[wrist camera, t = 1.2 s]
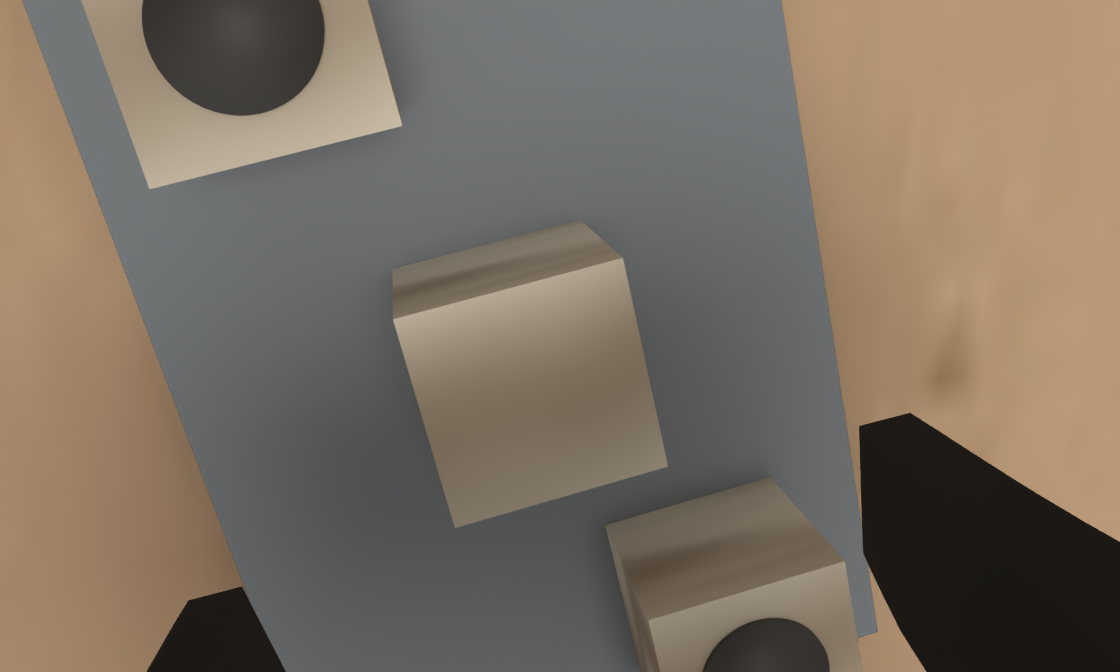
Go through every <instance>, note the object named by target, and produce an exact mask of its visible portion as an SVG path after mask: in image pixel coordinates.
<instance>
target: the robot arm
mask: <svg viewBox="0 0 1120 672" xmlns="http://www.w3.org/2000/svg"><path fill="white" fill-rule="evenodd" d="M859 435H860V469H861V502H862V535H863V554H864V556H865V558H866V560H867V563H868V565H869V567H870V569H871V571H872V573H873V575H874V577H875V580H876V582H877V584H878V586H879V588H880V590H881V592H882V594H883V596H884V598H885V600H886V602H887V604H888V606H889V608H890V610H891V612H892V614H893V616H894V618H895V620H896V622H897V624H898V626H899V628H900V630H901V632H902V634H903V635H904V637H905V638H906V640H907V642H908V643H909V645H910V646H911V648H912V650H913V651H914V653H915V654H916V656H917V657H918V659H919V661H920V662H921V664H922V665H923V667H924V668H925V670H926V672H1120V542H1119V541H1117V540H1115V539H1114V538H1112V537H1110V536H1108V535H1107V534H1105V533H1103V532H1101V531H1099V530H1098V529H1096V528H1094V527H1092V526H1091V525H1089V524H1087V523H1085V522H1084V521H1082V520H1080V519H1079V518H1077V517H1075V516H1074V515H1072V514H1070V513H1069V512H1067V511H1065V510H1064V509H1062V508H1060V507H1059V506H1057V505H1055V504H1053V503H1052V502H1050V501H1048V500H1047V499H1045V498H1043V497H1042V496H1040V495H1038V494H1037V493H1035V492H1034V491H1032V490H1030V489H1029V488H1027V487H1025V486H1024V485H1022V484H1021V483H1019V482H1017V481H1016V480H1014V479H1013V478H1011V477H1009V476H1008V475H1006V474H1005V473H1003V472H1002V471H1000V470H998V469H997V468H995V467H994V466H992V465H991V464H989V463H987V462H986V461H984V460H983V459H981V458H980V457H978V456H977V455H975V454H973V453H972V452H970V451H969V450H967V449H966V448H964V447H963V446H961V445H959V444H958V443H956V442H955V441H953V440H952V439H950V438H949V437H947V436H946V435H944V434H942V433H941V432H939V431H938V430H936V429H935V428H933V427H932V426H930V425H928V424H927V423H925V422H924V421H922V420H921V419H919V418H917V417H916V416H914V415H913V414H911V413H908V414H904V415H900V416H896V417H892V418H889V419H885V420H881V421H877V422H873V423H869V424H865V425H862V426H859ZM147 672H286V671H285V669H284V667H283V665H282V663H281V661H280V659H279V657H278V655H277V653H276V651H275V650H274V648H273V646H272V644H271V642H270V640H269V638H268V636H267V634H266V632H265V630H264V628H263V626H262V624H261V623H260V621H259V619H258V617H257V615H256V613H255V611H254V609H253V607H252V605H251V603H250V601H249V599H248V597H247V595H246V594H245V592H244V590H243V588H242V587H239V588H235V589H231V590H227V591H223V592H219V593H216V594H212V595H208V596H204V597H200V598H196V599H192V600H189V601H188V602H187V604H186V605H185V607H184V608H183V610H182V612H181V613H180V615H179V617H178V618H177V620H176V622H175V623H174V625H173V627H172V628H171V630H170V632H169V634H168V635H167V637H166V639H165V640H164V642H163V644H162V646H161V647H160V649H159V651H158V653H157V654H156V656H155V658H154V660H153V661H152V663H151V665H150V667H149V668H148V670H147Z"/></svg>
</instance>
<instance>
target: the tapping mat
mask: <svg viewBox="0 0 1120 672" xmlns="http://www.w3.org/2000/svg"><path fill="white" fill-rule="evenodd" d="M22 1H23V4H24V7H25V9H26V12H27V15H28V17H29V20H30V23H31V25H32V28H33V31H34V33H35V36H36V38H37V41H38V44H39V46H40V49H41V52H42V54H43V57H44V60H45V62H46V65H47V67H48V70H49V73H50V75H51V78H52V81H53V83H54V86H55V89H56V91H57V94H58V96H59V99H60V102H61V104H62V107H63V110H64V112H65V115H66V118H67V120H68V123H69V125H70V128H71V131H72V133H73V136H74V139H75V141H76V144H77V147H78V149H79V152H80V154H81V157H82V160H83V162H84V165H85V168H86V170H87V173H88V176H89V178H90V181H91V183H92V186H93V189H94V191H95V194H96V197H97V199H98V202H99V205H100V207H101V210H102V212H103V215H104V218H105V220H106V223H107V226H108V228H109V231H110V234H111V236H112V239H113V241H114V244H115V247H116V249H117V252H118V255H119V257H120V260H121V263H122V265H123V268H124V271H125V273H126V276H127V278H128V281H129V284H130V286H131V289H132V292H133V294H134V297H135V300H136V302H137V305H138V307H139V310H140V313H141V315H142V318H143V321H144V323H145V326H146V329H147V331H148V334H149V336H150V339H151V342H152V344H153V347H154V350H155V352H156V355H157V358H158V360H159V363H160V365H161V368H162V371H163V373H164V376H165V379H166V381H167V384H168V387H169V389H170V392H171V394H172V397H173V400H174V402H175V405H176V408H177V410H178V413H179V416H180V418H181V421H182V423H183V426H184V429H185V431H186V434H187V437H188V439H189V442H190V445H191V447H192V450H193V452H194V455H195V458H196V460H197V463H198V466H199V468H200V471H201V474H202V476H203V479H204V481H205V484H206V487H207V489H208V492H209V495H210V497H211V500H212V503H213V505H214V508H215V511H216V513H217V516H218V518H219V521H220V524H221V526H222V529H223V532H224V534H225V537H226V540H227V542H228V545H229V547H230V550H231V553H232V555H233V558H234V561H235V563H236V566H237V569H238V571H239V574H240V576H241V579H242V582H243V584H244V587H245V590H246V592H247V595H248V598H249V600H250V603H251V605H252V607H253V609H254V611H255V613H256V615H257V617H258V619H259V621H260V623H261V624H262V626H263V628H264V630H265V632H266V634H267V636H268V638H269V640H270V642H271V644H272V646H273V648H274V650H275V651H276V653H277V655H278V657H279V659H280V661H281V663H282V665H283V667H284V669H285V671H286V672H641V670H640V666H639V662H638V658H637V654H636V650H635V646H634V642H633V638H632V633H631V629H630V625H629V621H628V617H627V613H626V609H625V605H624V601H623V596H622V592H621V588H620V584H619V580H618V576H617V572H616V568H615V564H614V559H613V555H612V551H611V547H610V543H609V539H608V535H607V531H606V527H605V525H608V524H611V523H615V522H618V521H621V520H625V519H628V518H632V517H635V516H638V515H642V514H645V513H649V512H652V511H656V510H659V509H662V508H666V507H669V506H673V505H676V504H679V503H683V502H686V501H690V500H693V499H697V498H700V497H703V496H707V495H710V494H714V493H717V492H721V491H724V490H727V489H731V488H734V487H738V486H741V485H744V484H748V483H751V482H755V481H758V480H762V479H765V478H768V477H770V478H771V479H772V480H773V481H774V482H775V483H776V484H777V485H778V487H779V488H780V489H781V490H782V491H783V492H784V493H785V494H786V495H787V497H788V498H789V499H790V500H791V501H792V502H793V503H794V504H795V506H796V507H797V508H798V509H799V510H800V511H801V512H802V513H803V515H804V516H805V517H806V518H807V519H808V520H809V521H810V522H811V524H812V525H813V526H814V527H815V528H816V529H817V530H818V531H819V533H820V534H821V535H822V536H823V537H824V538H825V539H826V540H827V542H828V543H829V544H830V545H831V546H832V547H833V548H834V549H835V551H836V552H837V553H838V554H839V555H840V556H841V557H842V558H843V559H844V561H845V565H846V571H847V577H848V583H849V590H850V596H851V602H852V608H853V615H854V621H855V627H856V633H857V638H860V637H863V636H866V635H870V634H873V633H876V632H878V630H877V623H876V617H875V610H874V603H873V597H872V590H871V584H870V577H869V571H868V564H867V560H866V558H865V556H864V554H863V535H862V525H861V518H860V512H859V505H858V499H857V492H856V486H855V479H854V472H853V466H852V459H851V453H850V446H849V440H848V433H847V427H846V420H845V413H844V407H843V400H842V394H841V387H840V381H839V374H838V368H837V361H836V355H835V348H834V341H833V335H832V328H831V322H830V315H829V309H828V302H827V296H826V289H825V282H824V276H823V269H822V263H821V256H820V250H819V243H818V237H817V230H816V224H815V217H814V210H813V204H812V197H811V191H810V184H809V178H808V171H807V165H806V158H805V151H804V145H803V138H802V132H801V125H800V119H799V112H798V106H797V99H796V92H795V86H794V79H793V73H792V66H791V60H790V53H789V47H788V40H787V34H786V27H785V20H784V14H783V7H782V1H781V0H369V1H370V5H371V8H372V12H373V15H374V19H375V23H376V26H377V30H378V34H379V37H380V41H381V44H382V48H383V52H384V55H385V59H386V63H387V66H388V70H389V74H390V77H391V81H392V84H393V88H394V92H395V95H396V99H397V103H398V106H399V110H400V115H401V121H402V126H400V127H396V128H392V129H388V130H384V131H380V132H376V133H372V134H368V135H364V136H360V137H356V138H352V139H348V140H344V141H340V142H336V143H332V144H328V145H324V146H320V147H316V148H312V149H308V150H304V151H300V152H296V153H292V154H288V155H284V156H280V157H276V158H272V159H268V160H264V161H260V162H256V163H252V164H249V165H245V166H241V167H237V168H233V169H229V170H225V171H221V172H217V173H213V174H209V175H205V176H201V177H197V178H193V179H189V180H185V181H181V182H177V183H173V184H169V185H165V186H161V187H157V188H153V189H149V186H148V184H147V181H146V178H145V175H144V173H143V170H142V167H141V164H140V162H139V159H138V156H137V153H136V150H135V148H134V145H133V142H132V139H131V137H130V134H129V131H128V128H127V126H126V123H125V120H124V117H123V115H122V112H121V109H120V106H119V103H118V101H117V98H116V95H115V92H114V90H113V87H112V84H111V81H110V79H109V76H108V73H107V70H106V68H105V65H104V62H103V59H102V56H101V54H100V51H99V48H98V45H97V43H96V40H95V37H94V34H93V32H92V29H91V26H90V23H89V20H88V18H87V15H86V12H85V9H84V7H83V4H82V1H81V0H22ZM577 220H581V221H582V222H583V223H584V224H585V225H587V226H588V227H589V228H590V229H591V230H592V231H593V232H594V233H596V234H597V235H598V236H599V237H600V238H601V239H602V240H603V241H605V242H606V243H607V244H608V245H609V246H610V247H611V248H612V249H614V250H615V251H616V252H617V253H618V254H619V255H620V256H621V257H622V258H623V261H624V265H625V270H626V275H627V279H628V284H629V288H630V293H631V298H632V302H633V307H634V311H635V316H636V321H637V325H638V330H639V335H640V339H641V344H642V348H643V353H644V358H645V362H646V367H647V371H648V376H649V381H650V385H651V390H652V395H653V399H654V404H655V408H656V413H657V418H658V422H659V427H660V432H661V436H662V441H663V445H664V450H665V455H666V459H667V464H668V467H665V468H661V469H658V470H654V471H651V472H647V473H644V474H640V475H637V476H634V477H630V478H627V479H623V480H620V481H616V482H613V483H609V484H606V485H602V486H599V487H595V488H592V489H588V490H585V491H582V492H578V493H575V494H571V495H568V496H564V497H561V498H557V499H554V500H550V501H547V502H543V503H540V504H536V505H533V506H530V507H526V508H523V509H519V510H516V511H512V512H509V513H505V514H502V515H498V516H495V517H491V518H488V519H484V520H481V521H478V522H474V523H471V524H467V525H464V526H460V527H457V528H455V527H454V523H453V520H452V517H451V513H450V510H449V507H448V503H447V500H446V496H445V493H444V490H443V486H442V483H441V480H440V476H439V473H438V470H437V466H436V463H435V459H434V456H433V453H432V449H431V446H430V443H429V439H428V436H427V432H426V429H425V426H424V422H423V419H422V416H421V412H420V409H419V405H418V402H417V399H416V395H415V392H414V389H413V385H412V382H411V379H410V375H409V372H408V368H407V365H406V362H405V358H404V355H403V352H402V348H401V345H400V341H399V338H398V335H397V331H396V328H395V325H394V321H393V277H392V269H395V268H399V267H402V266H406V265H410V264H414V263H418V262H421V261H425V260H429V259H433V258H437V257H440V256H444V255H448V254H452V253H456V252H459V251H463V250H467V249H471V248H475V247H478V246H482V245H486V244H490V243H494V242H497V241H501V240H505V239H509V238H513V237H516V236H520V235H524V234H528V233H532V232H535V231H539V230H543V229H547V228H551V227H554V226H558V225H562V224H566V223H570V222H573V221H577Z"/></svg>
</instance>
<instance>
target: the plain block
mask: <svg viewBox="0 0 1120 672" xmlns="http://www.w3.org/2000/svg"><path fill="white" fill-rule="evenodd" d="M392 277H393V321H394V325H395V328H396V331H397V335H398V338H399V341H400V345H401V348H402V352H403V355H404V358H405V362H406V365H407V368H408V372H409V375H410V379H411V382H412V385H413V389H414V392H415V395H416V399H417V402H418V405H419V409H420V412H421V416H422V419H423V422H424V426H425V429H426V432H427V436H428V439H429V443H430V446H431V449H432V453H433V456H434V459H435V463H436V466H437V470H438V473H439V476H440V480H441V483H442V486H443V490H444V493H445V496H446V500H447V503H448V507H449V510H450V513H451V517H452V520H453V523H454V527H455V528H457V527H460V526H464V525H467V524H471V523H474V522H478V521H481V520H484V519H488V518H491V517H495V516H498V515H502V514H505V513H509V512H512V511H516V510H519V509H523V508H526V507H530V506H533V505H536V504H540V503H543V502H547V501H550V500H554V499H557V498H561V497H564V496H568V495H571V494H575V493H578V492H582V491H585V490H588V489H592V488H595V487H599V486H602V485H606V484H609V483H613V482H616V481H620V480H623V479H627V478H630V477H634V476H637V475H640V474H644V473H647V472H651V471H654V470H658V469H661V468H665V467H668V464H667V459H666V455H665V450H664V445H663V441H662V436H661V432H660V427H659V422H658V418H657V413H656V408H655V404H654V399H653V395H652V390H651V385H650V381H649V376H648V371H647V367H646V362H645V358H644V353H643V348H642V344H641V339H640V335H639V330H638V325H637V321H636V316H635V311H634V307H633V302H632V298H631V293H630V288H629V284H628V279H627V275H626V270H625V265H624V261H623V258H622V257H621V256H620V255H619V254H618V253H617V252H616V251H615V250H614V249H612V248H611V247H610V246H609V245H608V244H607V243H606V242H605V241H603V240H602V239H601V238H600V237H599V236H598V235H597V234H596V233H594V232H593V231H592V230H591V229H590V228H589V227H588V226H587V225H585V224H584V223H583V222H582V221H581V220H577V221H573V222H570V223H566V224H562V225H558V226H554V227H551V228H547V229H543V230H539V231H535V232H532V233H528V234H524V235H520V236H516V237H513V238H509V239H505V240H501V241H497V242H494V243H490V244H486V245H482V246H478V247H475V248H471V249H467V250H463V251H459V252H456V253H452V254H448V255H444V256H440V257H437V258H433V259H429V260H425V261H421V262H418V263H414V264H410V265H406V266H402V267H399V268H395V269H392Z"/></svg>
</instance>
